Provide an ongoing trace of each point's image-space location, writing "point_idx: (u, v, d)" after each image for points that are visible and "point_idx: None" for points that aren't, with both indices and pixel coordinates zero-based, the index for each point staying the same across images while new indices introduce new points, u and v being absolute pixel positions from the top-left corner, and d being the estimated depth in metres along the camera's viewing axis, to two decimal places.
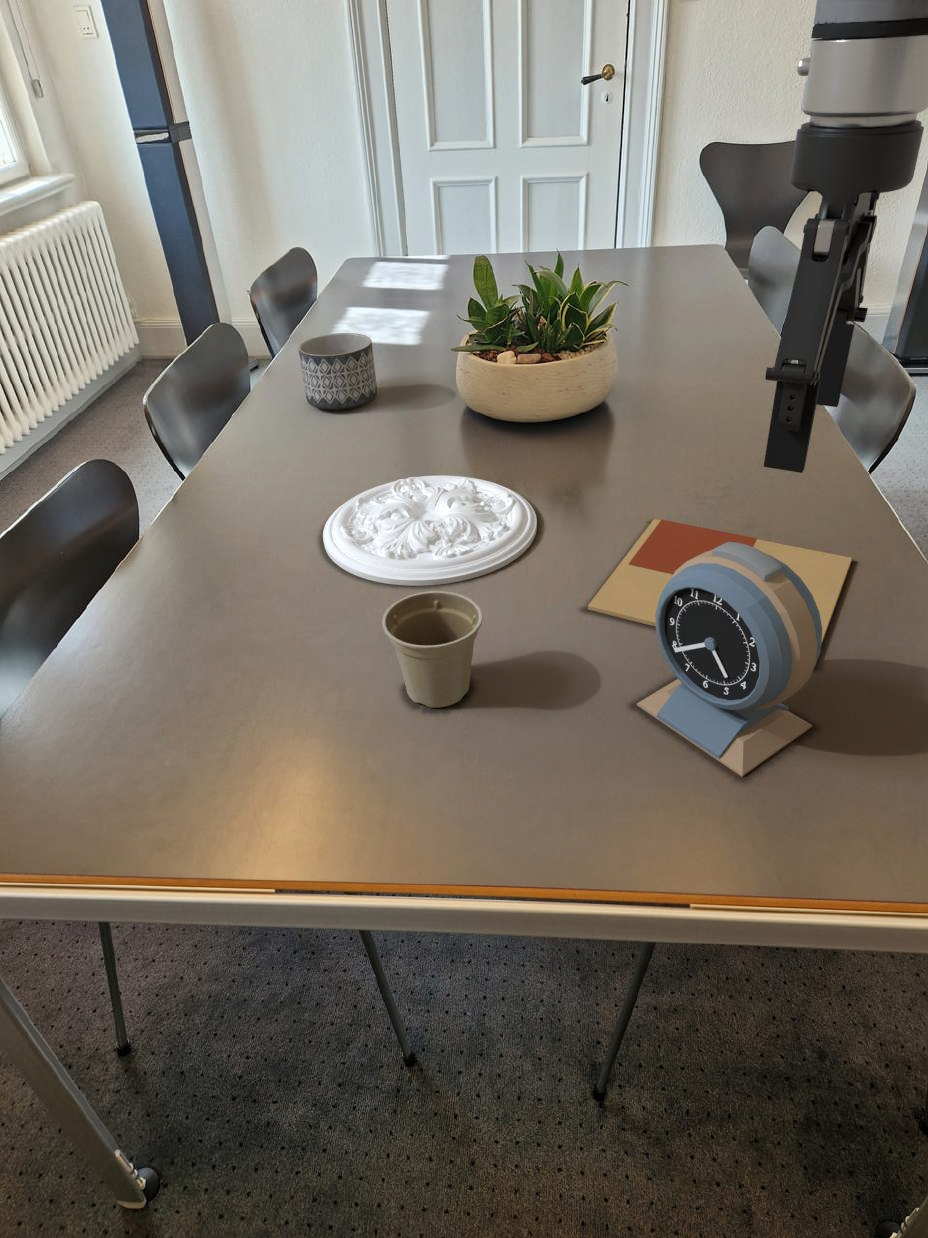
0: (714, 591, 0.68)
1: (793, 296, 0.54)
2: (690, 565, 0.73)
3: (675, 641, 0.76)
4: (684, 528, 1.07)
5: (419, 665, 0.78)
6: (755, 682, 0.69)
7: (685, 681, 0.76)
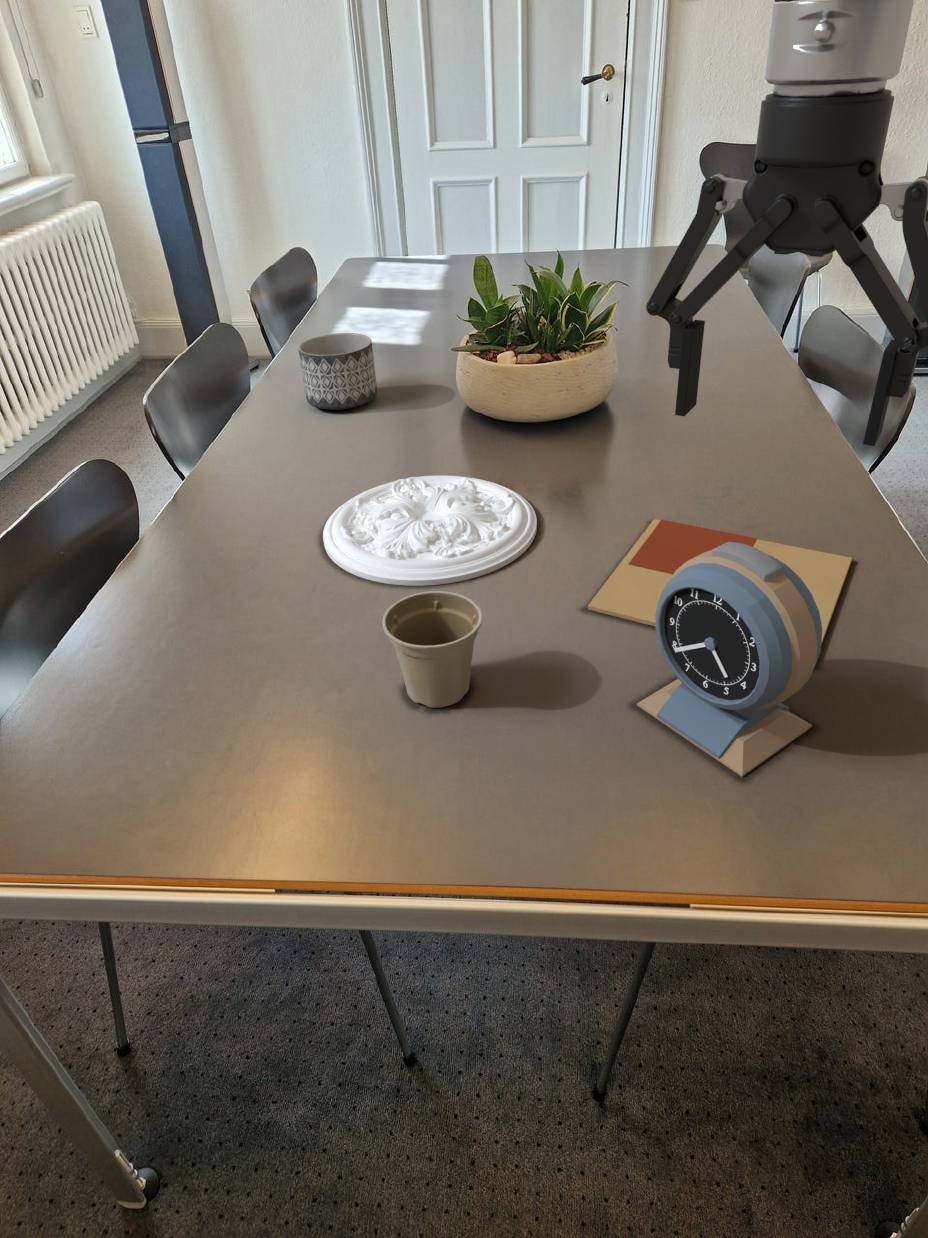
0: (714, 591, 0.68)
1: None
2: (690, 565, 0.73)
3: (675, 641, 0.76)
4: (684, 528, 1.07)
5: (419, 665, 0.78)
6: (755, 682, 0.69)
7: (685, 681, 0.76)
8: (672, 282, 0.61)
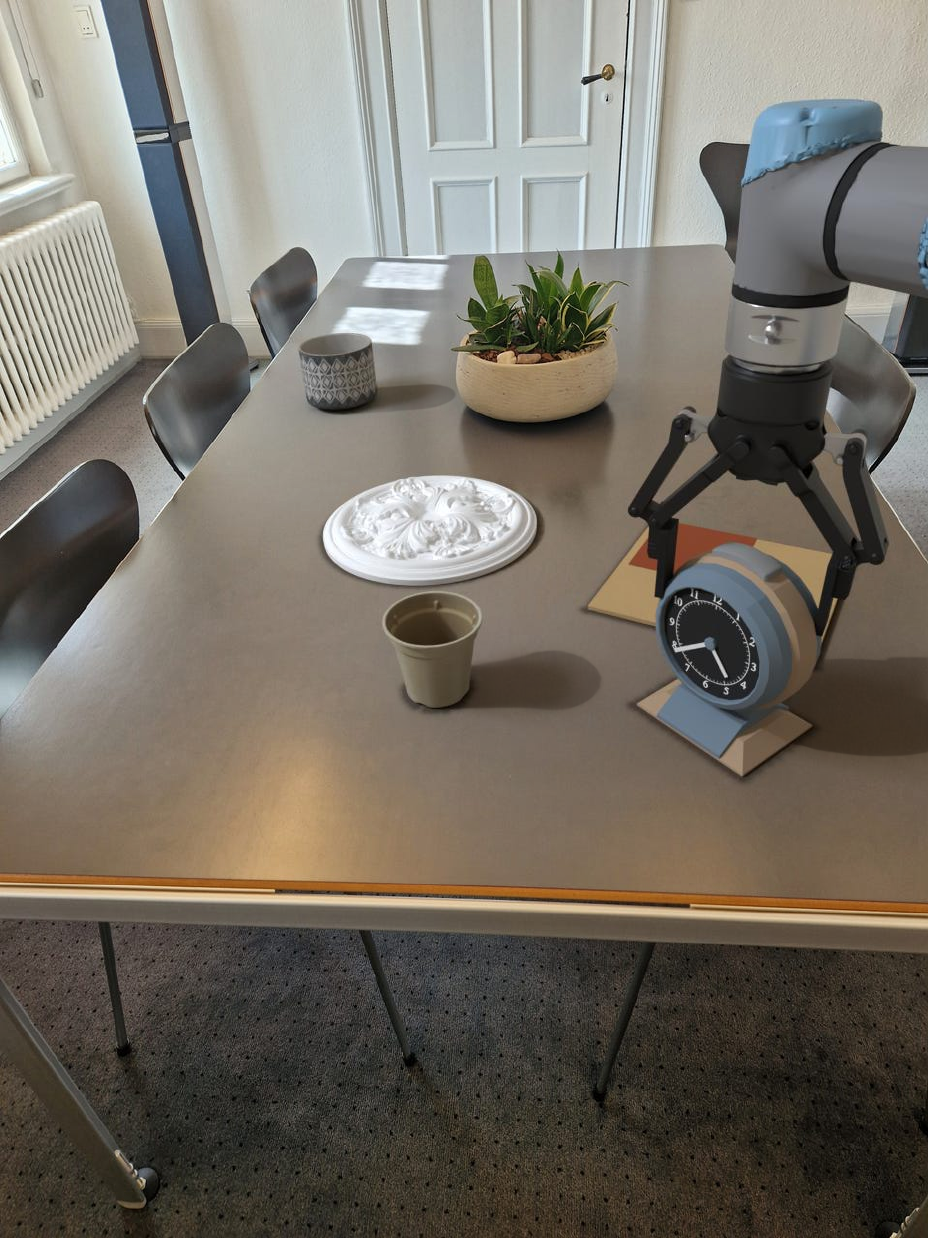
0: (714, 591, 0.68)
1: (868, 500, 0.61)
2: (690, 565, 0.73)
3: (675, 641, 0.76)
4: (684, 528, 1.07)
5: (419, 665, 0.78)
6: (755, 682, 0.69)
7: (685, 681, 0.76)
8: (649, 493, 0.69)
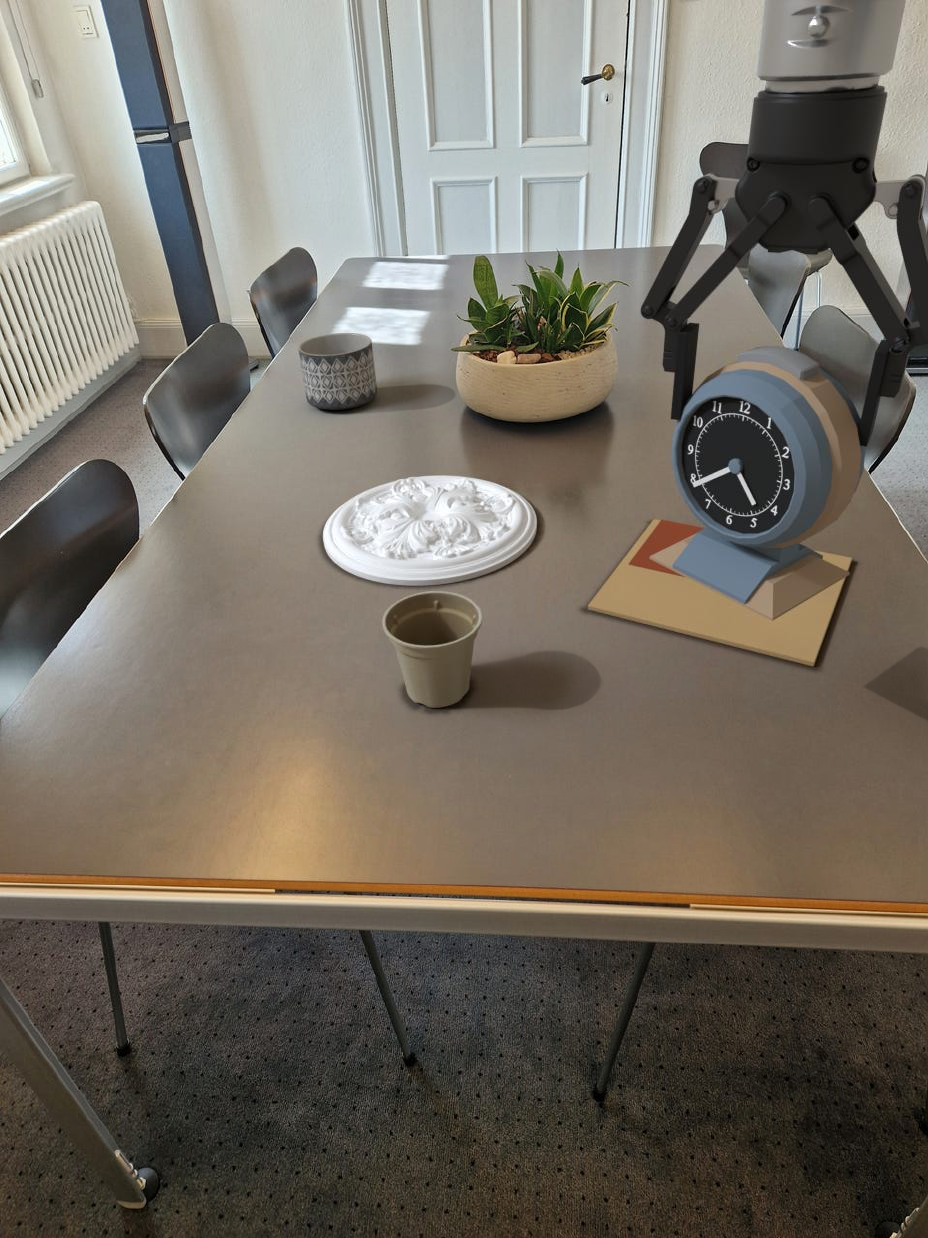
0: (741, 395, 0.59)
1: (927, 258, 0.52)
2: (712, 378, 0.63)
3: (694, 473, 0.66)
4: (684, 528, 1.07)
5: (419, 665, 0.78)
6: (788, 503, 0.60)
7: (705, 519, 0.66)
8: (666, 284, 0.60)
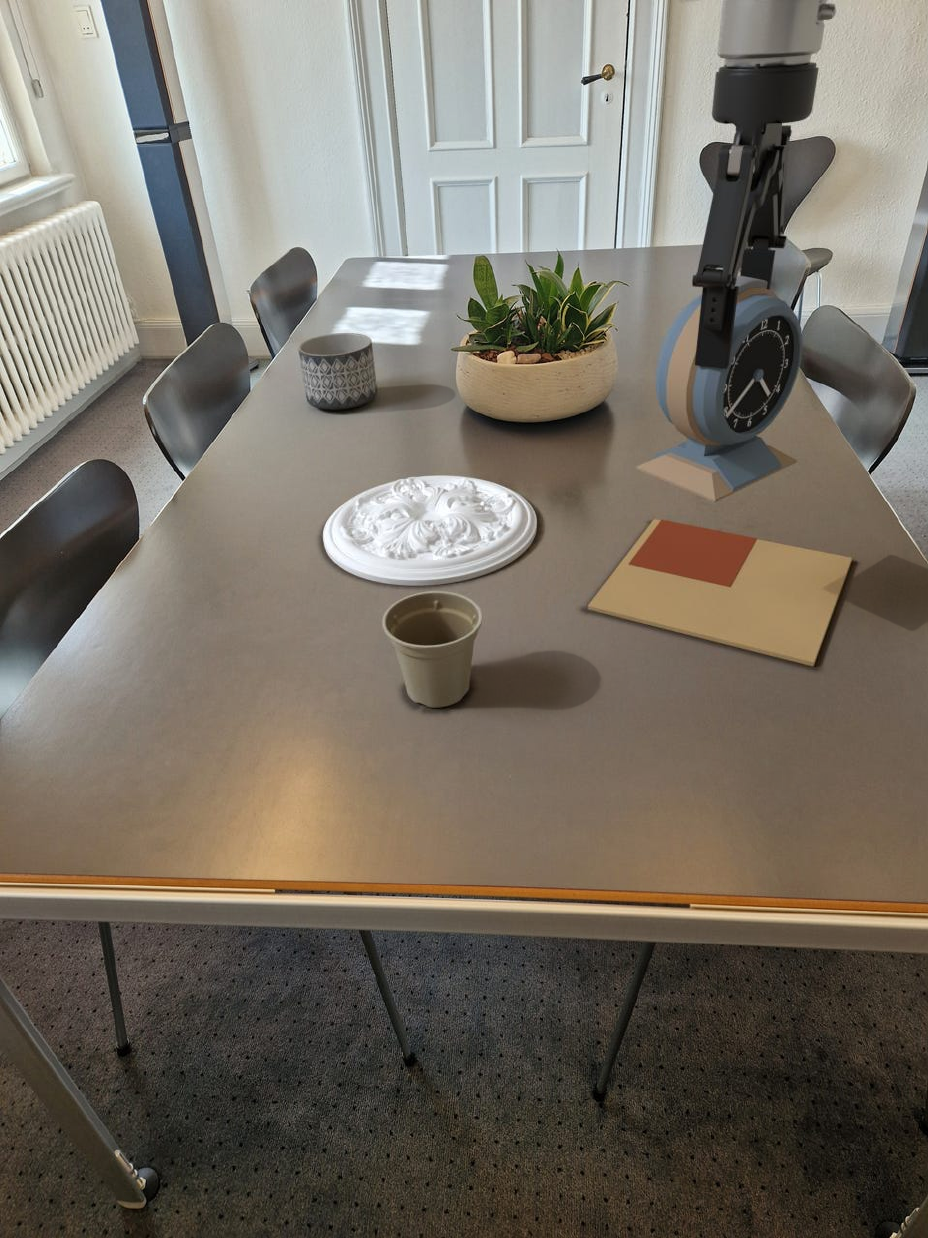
0: (772, 313, 0.73)
1: None
2: None
3: (726, 406, 0.76)
4: (684, 528, 1.07)
5: (419, 665, 0.78)
6: (786, 376, 0.79)
7: (741, 434, 0.78)
8: (736, 248, 0.65)
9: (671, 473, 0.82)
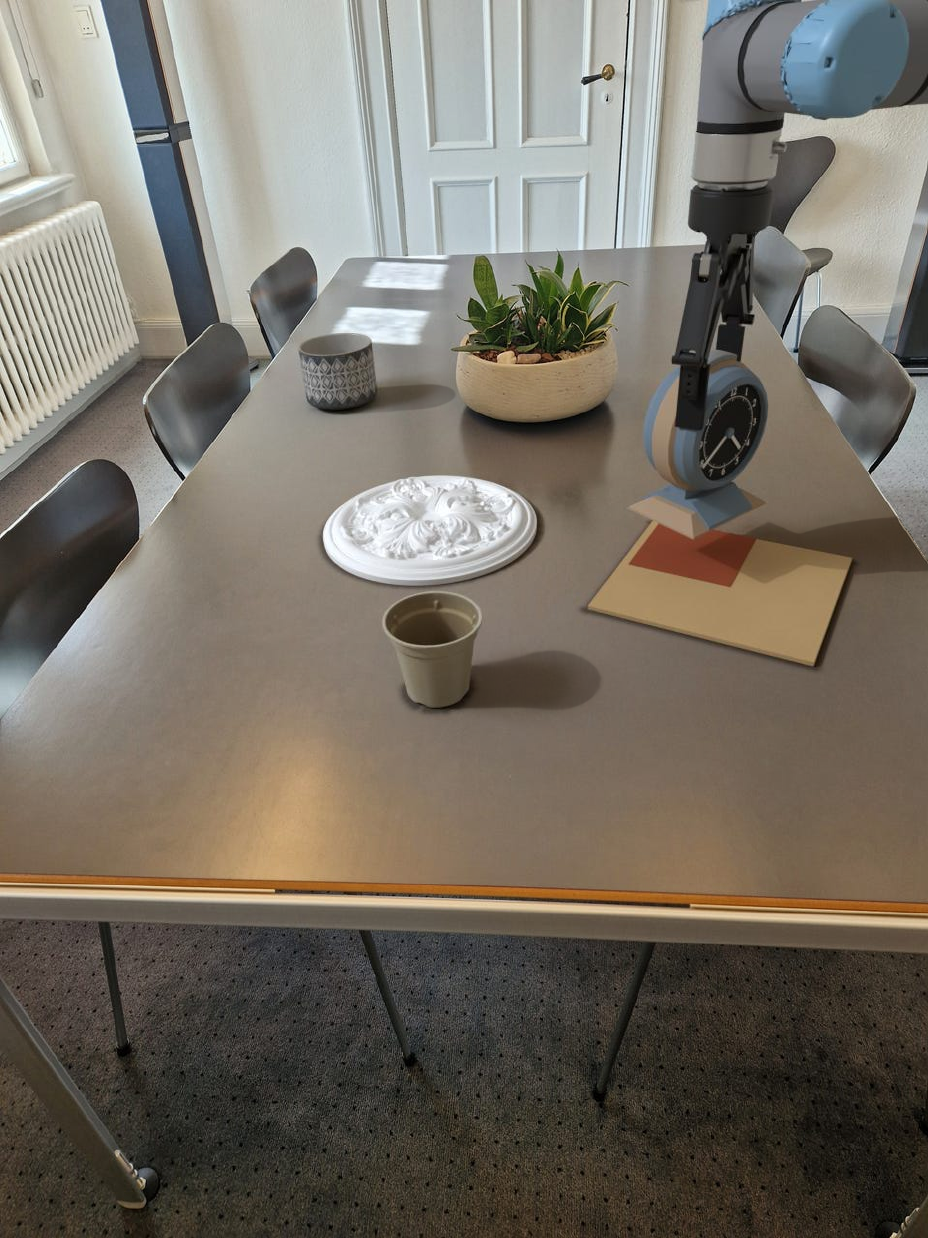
0: (740, 383, 0.87)
1: None
2: None
3: (702, 459, 0.89)
4: None
5: (419, 665, 0.78)
6: (755, 432, 0.93)
7: (716, 482, 0.92)
8: (706, 336, 0.79)
9: (657, 513, 0.96)
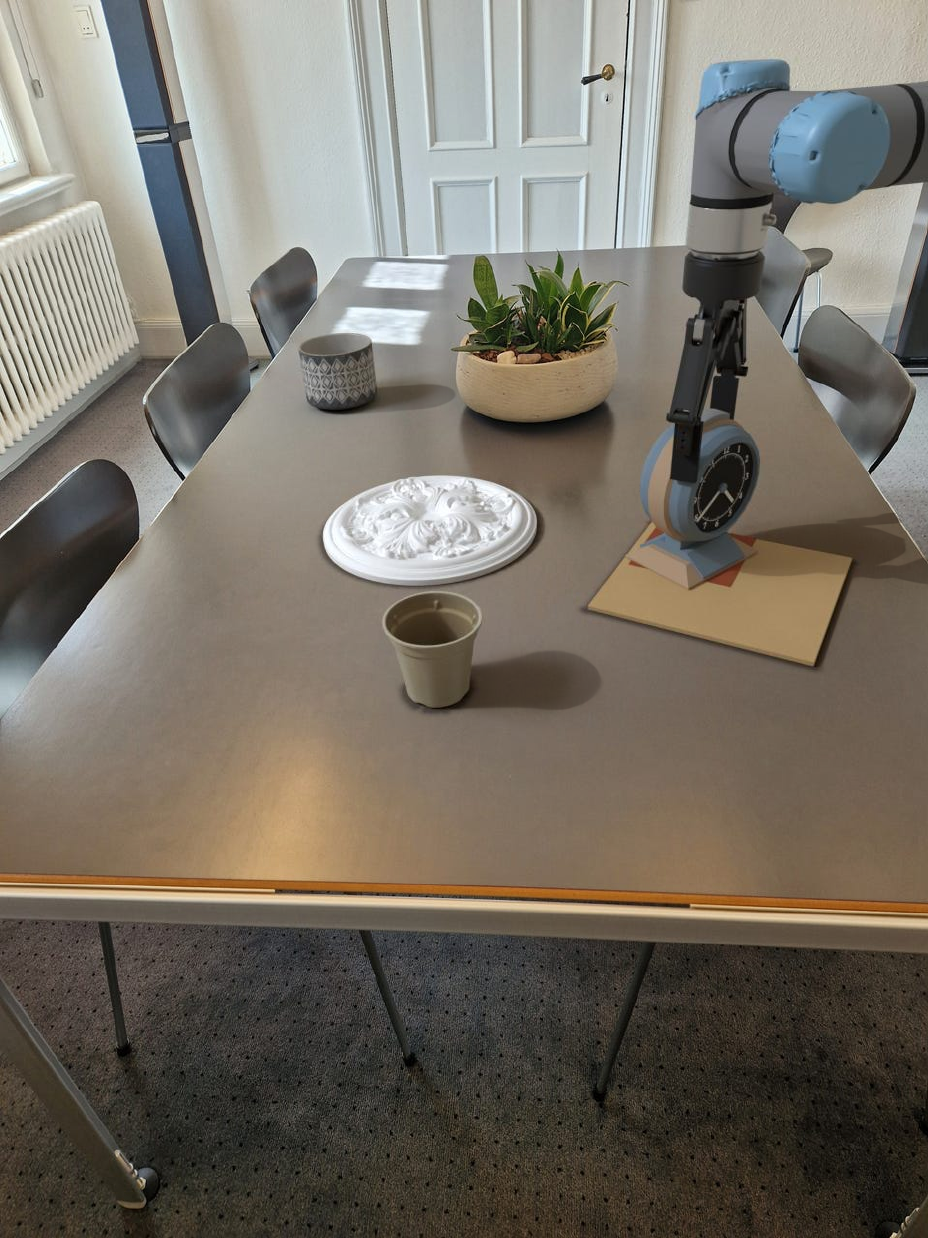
0: (732, 442, 0.90)
1: None
2: None
3: (697, 514, 0.93)
4: None
5: (419, 665, 0.78)
6: (747, 485, 0.97)
7: (709, 534, 0.95)
8: (700, 396, 0.82)
9: (653, 562, 0.99)
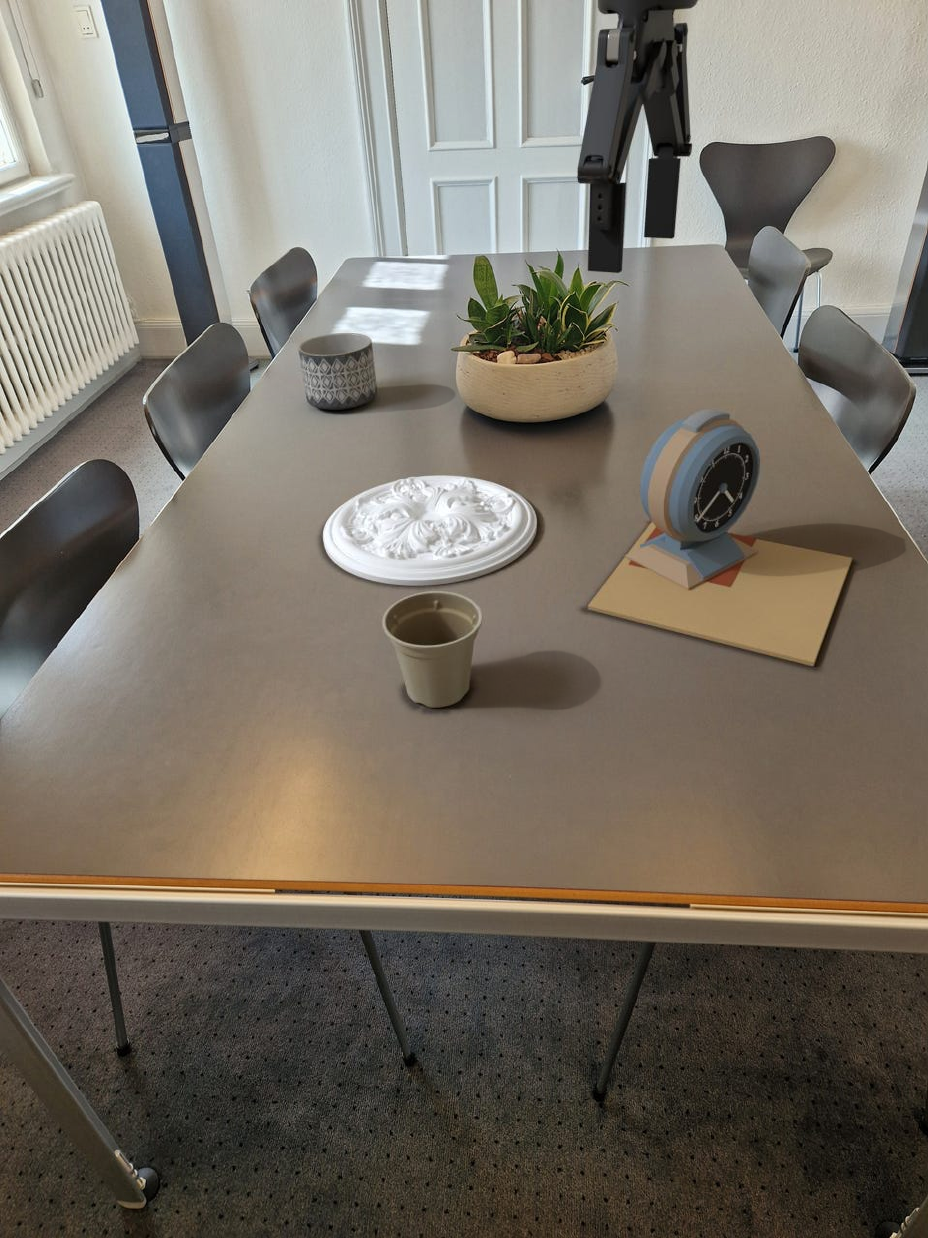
0: (732, 442, 0.90)
1: None
2: (688, 451, 0.90)
3: (697, 514, 0.93)
4: None
5: (419, 665, 0.78)
6: (747, 485, 0.97)
7: (709, 534, 0.95)
8: (617, 138, 0.63)
9: (653, 562, 0.99)
